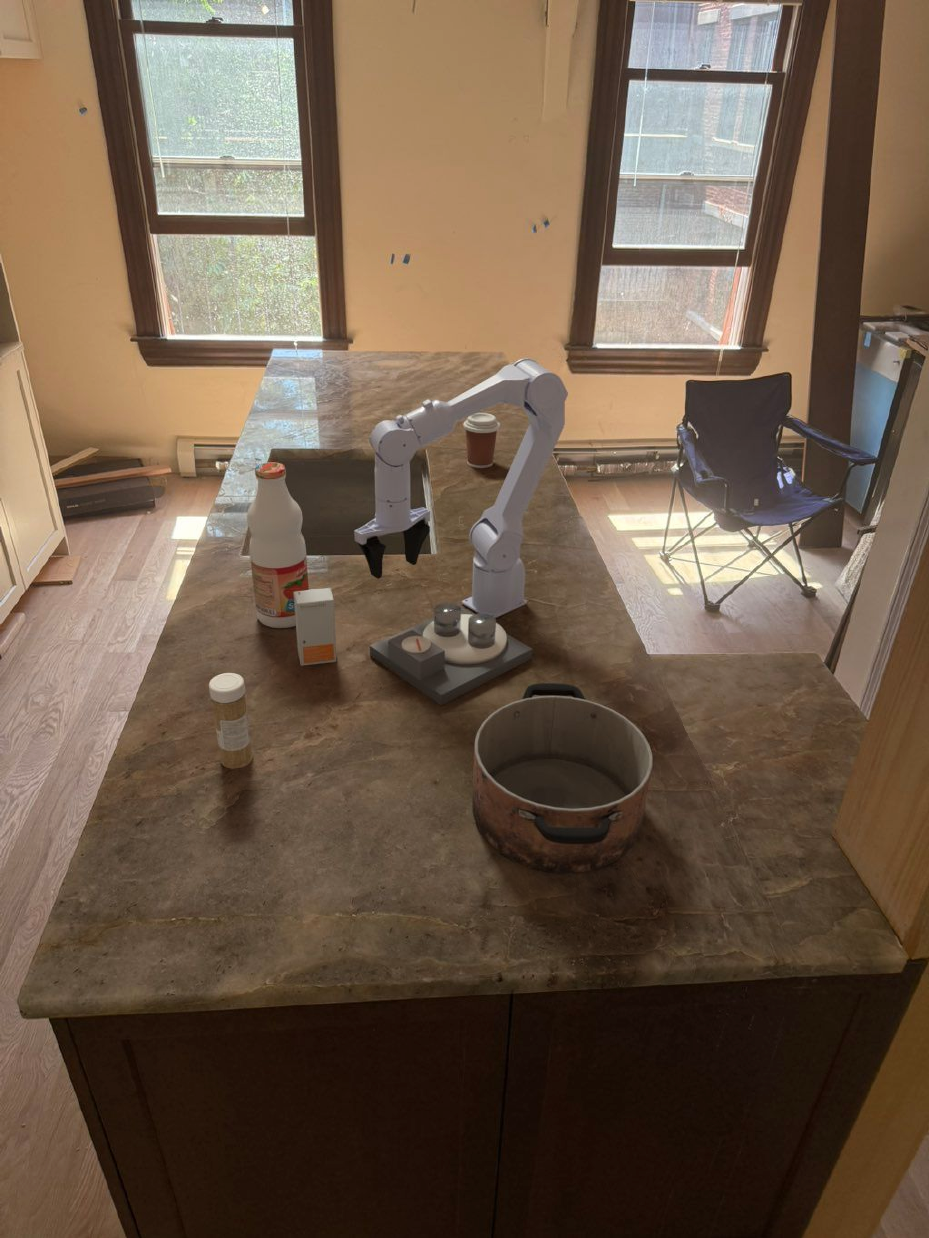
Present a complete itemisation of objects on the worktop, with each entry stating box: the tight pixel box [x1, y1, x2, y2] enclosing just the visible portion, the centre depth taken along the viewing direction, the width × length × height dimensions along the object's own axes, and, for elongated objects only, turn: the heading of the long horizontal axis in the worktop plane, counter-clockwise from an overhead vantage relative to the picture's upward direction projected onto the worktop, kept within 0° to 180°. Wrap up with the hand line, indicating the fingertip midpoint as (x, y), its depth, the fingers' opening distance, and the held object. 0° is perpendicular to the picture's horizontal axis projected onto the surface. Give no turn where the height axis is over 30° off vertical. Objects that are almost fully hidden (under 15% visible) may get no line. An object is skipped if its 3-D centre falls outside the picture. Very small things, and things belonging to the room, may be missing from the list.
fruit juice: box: [246, 461, 310, 629], centre depth 148 cm, size 9×9×28 cm
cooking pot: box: [471, 682, 654, 874], centre depth 113 cm, size 30×22×11 cm
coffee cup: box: [462, 412, 501, 469], centre depth 218 cm, size 9×9×12 cm
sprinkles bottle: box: [208, 672, 254, 769], centre depth 119 cm, size 5×5×14 cm
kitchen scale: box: [369, 605, 533, 706], centre depth 144 cm, size 20×18×6 cm
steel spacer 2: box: [468, 613, 497, 649], centre depth 144 cm, size 4×4×4 cm
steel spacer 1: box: [433, 602, 461, 637], centre depth 146 cm, size 4×4×4 cm
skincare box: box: [293, 587, 337, 667], centre depth 142 cm, size 6×4×12 cm
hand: (394, 569), depth 150 cm, fingers open, 7 cm apart
